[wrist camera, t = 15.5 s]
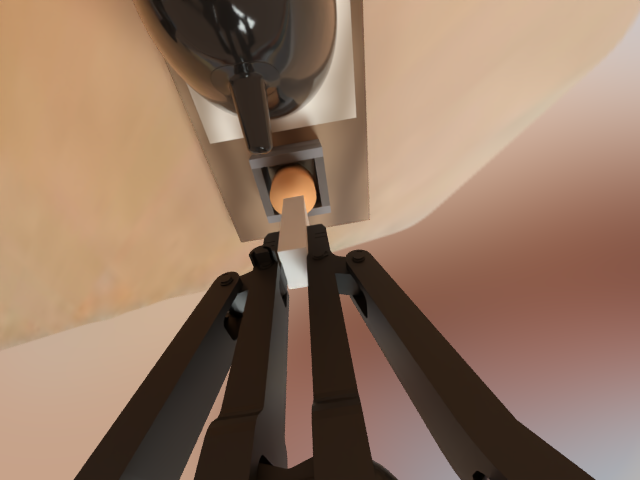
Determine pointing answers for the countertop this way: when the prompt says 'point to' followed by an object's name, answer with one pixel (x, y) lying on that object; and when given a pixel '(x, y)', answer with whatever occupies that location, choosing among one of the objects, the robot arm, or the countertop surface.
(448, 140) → the countertop surface
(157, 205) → the countertop surface
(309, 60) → the pump dispenser
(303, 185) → the button
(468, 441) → the robot arm
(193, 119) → the drawing board
